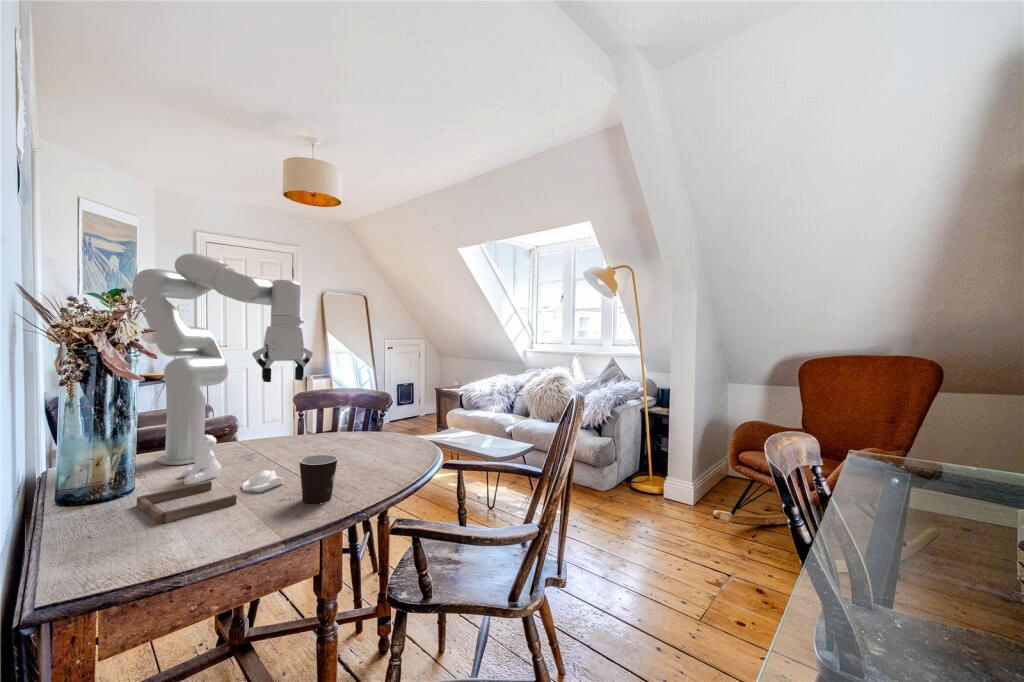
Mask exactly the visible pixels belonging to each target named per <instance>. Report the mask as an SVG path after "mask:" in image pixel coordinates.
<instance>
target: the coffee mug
mask: <svg viewBox="0 0 1024 682" xmlns="http://www.w3.org/2000/svg"><path fill="white" fill-rule="evenodd" d="M338 459H339V458H338V457H337V455H336V456H335V455H333V454H314V455H308V456H303V457H302V458H300V459H299V461H298V462H299V470H300V471H299V472H300V482H301V483H300V484H301V496H302V503H303V502H304V503H303V504H305V503H306V504H305V505H308V504H318V505H321V504H320V503H323V504H325V503H324V502H326V503H328V502H330V501H331V500H332V497H333V496H332V495H333V489H334V482H335V478H336V477H335V476H336V471H337V465H338ZM330 499H331V500H330ZM329 500H330V501H329ZM327 501H328V502H327Z"/></svg>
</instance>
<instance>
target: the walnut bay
mask: <svg viewBox="0 0 1024 682" xmlns="http://www.w3.org/2000/svg"><path fill="white" fill-rule="evenodd" d="M212 484H213V483H212V481H203V482H199V483H196V484H192V485H185V486H181V487H177V488H172V489H168V490H167V489H166V490H164V491H163V490H162V491H159V492H155V493H149V494H145V495H144V494H143V495H140V496H136V507H138V508H139V510H141V511H142V510H143V511H142V512H144V514H146V515H147V516H148V517H150V518H151V519H152V520H153V521H154V522H156V523H157V524H158V525H163V524H167V523H170V522H174V521H178V520H179V521H180V520H182V519H185V518H190V517H194V516H197V515H198V516H199V515H200V514H204V513H208V512H212V511H215V510H219V509H223V508H226V507H230V506H235V505H237V499H238V498H237V497H238V496H237V495H236V494H232V495H228V496H224V497H220V498H217V499H213V500H212V499H211V500H208V501H204V502H199V503H196V504H193V505H188V506H184V507H179V508H176V509H175V508H174V509H172V510H168V511H167V510H166V511H164V510H162V509H161V508H159V507H158V506H157V505H155V504H157V503H161V502H166V501H170V500H173V499H177V498H178V499H179V498H183V497H187V496H190V495H191V496H192V495H195V494H199V493H200V494H201V493H203V492H209V491H212V486H213V485H212Z"/></svg>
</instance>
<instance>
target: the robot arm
mask: <svg viewBox="0 0 1024 682" xmlns="http://www.w3.org/2000/svg"><path fill="white" fill-rule="evenodd" d="M174 269H175V270H174V271H173V270H167V269H161V268H148V269H147V268H146V269H143V270H141V271H139V272H138V273H136V275H135V277H134V278H133V282H132V285H131V291H132V297H133V300H134V299H135V300H134V302H135V301H136V302H138V301H141V300H143V299H144V298H145V297H146V299H145V301H144V302H143V304H142V308H143V309H145V310H146V311H145V312H141V313H142V315H143V317H144V319H145V320H146V322H147V325H148V328H149V330H150V331H151V330H156V331H157V333H152V332H151V335H152V337H153V340H154V341H155V344H156V346H157V348H158V350H159V351H160V352H161V354H162V355H165V356H166V357H178V358H174V359H172V360H170V362H167V364H166V365H165V367H164V369H163V378H164V383H165V389H166V390H165V391H166V421H165V422H166V423H165V425H166V426H165V445H164V446H165V448H164V449H165V450H164V451H165V452H164V454H162V455H161V456H159V457H158V459H157V462H158V463H159V464H161V465H165V466H177V465H179V466H180V465H188V464H189V465H190V464H195V458H196V456H197V453H198V450H196V448H197V446H198V444H199V443H198V442H199V441H201V440H202V438H203V436H204V435H205V428H206V405H207V403H206V397H205V395H204V394H203V391H202V390H201V387H208V386H216V385H219V384H222V383H223V382H224V381H226V379H227V377H228V376H229V368H228V364H227V361H226V359H225V356H224V354H223V352H222V350H221V348H220V346H219V343H218V341H217V339H216V337H215V336H214V334H213V333H212V332H211V331H210V330H209V329H206V328H204V327H199V326H190V325H189V326H188V325H187V324H186V323H185V322H184V320H183V318H182V315H181V313H180V311H179V310H178V309H177V307H176V306H174V305H173V304H172V302H170V301H168V299H167V298H169V299H170V298H171V299H179V300H194V299H198V298H199V297H201V296H203V295H206V294H207V293H208V292H211V291H213V290H214V291H216V292H217V293H218V294H220V295H221V296H224V297H226V298H230V299H232V300H235V301H239V302H241V303H246V304H256V305H264V306H270V325H269V326H266V329H265V334H264V339H263V345H262V347H261V348H259V349H257V350H255V351H253V352H252V354H251V355H252V356H253V358H254V359H255V362H256V364H258V366H260V368H261V369H262V370H261V372H262V373H261V379H262V381H263V382H264V383H271V382H272V368H271V366H272V364H273V363H274V362H281V361H282V362H283V361H287V362H289V361H294V363H295V364H296V366H295V369H294V380H296V381H303V379H304V374H305V373H304V371H305V369H304V368H305V367H306V365H307V364H308V363H309V362H310V361H311V360H310V359H311V358H312V357H313V355H314V353H313V352H312V351H311V350H309V349H307V348H306V347H304V344H305V342H304V333H303V330H302V327H300V326H301V324H302V325H303V324H304V319H302V318H301V293H302V292H301V288H302V287H301V284H300V282H299V281H297V280H296V281H295V280H290V279H276V280H269V279H264V278H261V277H256V276H248V275H245V274H243V273H239V272H236V270H235V268H234V267H233V266H232V265H230V264H227V263H226V262H224V261H222V260H221V259H219V258H215V257H211V256H206V255H202V254H198V253H185V254H182V255H180V256H179V257H177V258H176V260H175V261H174ZM136 302H135V304H136V305H137V303H136ZM304 354H305V356H304Z"/></svg>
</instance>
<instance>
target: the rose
mask: <svg viewBox="0 0 1024 682" xmlns="http://www.w3.org/2000/svg"><path fill="white" fill-rule="evenodd" d="M284 482H285V479H284V477H280V476H277V474H276V472H275V470H274V469H273V470H272V471H271V470H266V469H263V470H261V471H260V472H258V473H257V474H256V475H253V476H251V477H250V478H249V479H247V480H245V481H244V482H242V485H241V489H242V492H251V491H253V492H254V493H263V492H265V490H266V491H268V490H267V489H269V488H271V489H273V488H272V487H274V486H276V487H278V486H277V485H279V484H281V485H283V483H284ZM279 486H280V485H279ZM274 488H275V487H274ZM269 490H270V489H269ZM262 491H263V492H262ZM253 492H252V493H253Z"/></svg>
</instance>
